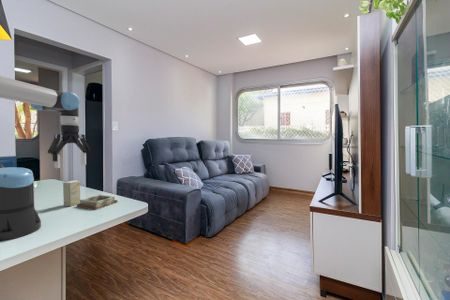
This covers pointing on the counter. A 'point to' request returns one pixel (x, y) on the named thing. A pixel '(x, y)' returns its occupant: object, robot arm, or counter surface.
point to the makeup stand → (96, 202)
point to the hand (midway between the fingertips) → (71, 166)
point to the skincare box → (71, 193)
